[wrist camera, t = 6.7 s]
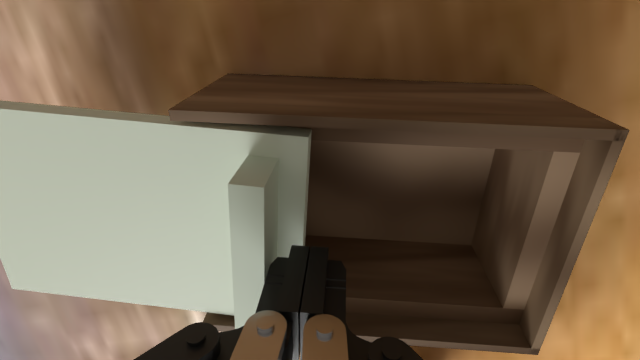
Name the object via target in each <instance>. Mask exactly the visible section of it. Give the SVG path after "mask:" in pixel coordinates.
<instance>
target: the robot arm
mask: <svg viewBox="0 0 640 360" xmlns="http://www.w3.org/2000/svg"><path fill="white" fill-rule="evenodd" d="M328 257H329V247H317V246H311V248H310V246H299V245H292V246H291V249H290V254H289V258H287V257H277V258H276V259H275V260H274V261H273V262H272V263H271V264H270V267H269V270H268V273H267V277H266V280H265V284H264V286H263V290H262V293H261V296H260V299H259V303H258V306H257V309H256V312H255V314H253V315H252V316H250V317H249V318H248V320H247V321H246V323H245V325H244V326H242V327H240V328H237V329H234V330H230V331H225V332H220V333H219V332H218V330H217V328H216V327H215V326H213V325H212V324H209V323H204V322H200V323H194V324H191V325H189V326H187V327H185V328H183V329H182V330H180V331H178V332H177V333H175V334H174V335H172V336H171V337H169V338H167V339H166V340H164V341H163V342H161V343H159V344H158V345H156V346H155V347H153V348H151V349H150V350H148V351H147V352H145V353H144V354H142V355H140V356H139V357H137V358H136V359H134V360H299V357H300V360H423V359H422V358H421V357H420V356H419V355H418V354H417V353H416V352H415V351H414V350H413V349H412V348H411V347H409V346H408V345H407V344H406V343H405V342H403V341H402V340H400V339H398V338H395V337H381V338H378V339H376V340H374V341H373V342H369V341H366V340H364V339H361V338H359V337H358V336H356V335H355V334H353V333H352V332H351V331H350V329H349V328H348V326H347V323H346V268H345V267H344V265H343V263H342V261H337V260H328Z"/></svg>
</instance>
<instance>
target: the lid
mask: <svg viewBox="0 0 640 360" xmlns="http://www.w3.org/2000/svg"><path fill="white" fill-rule="evenodd" d="M311 132H312V129H306V128H295V127H284V126H273V125H254V124H232V123H210V122H188V121H170V117H169V116H164V115H153V114H142V113H131V112H120V111H109V110H99V109H88V108H77V107H66V106H55V105H44V104H33V103H22V102H11V101H0V259H1V261H2V264H3V266H4V269H5V271H6V274H7V276H8V279H9V282H10V284H11V287H12V289H19V290H27V291H35V292H43V293H52V294H60V295H68V296H76V297H85V298H93V299H101V300H110V301H118V302H126V303H134V304H143V305H151V306H159V307H168V308H176V309H184V310H192V311H201V312H209V313H217V314H225V315H234V318H235V329H237V328H240V327H242V326H244V325H245V323H246V321H247V320H248V318H249V317H250V316H252V315H253V314H255V312H256V309H257V306H258V303H259V299H260V296H261V293H262V290H263V286H264V284H265V280H266V277H267V273H268V270H269V267H270V264H271V263H272V262H273V261H274V260H275V259H276V258H277V257H287V258H289V254H290V249H291V246H292V245H299V246H305V237H306V220H307V202H308V185H309V167H310V150H311Z"/></svg>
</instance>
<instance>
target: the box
mask: <svg viewBox="0 0 640 360" xmlns="http://www.w3.org/2000/svg"><path fill="white" fill-rule="evenodd" d="M168 111H169V117H170V121H188V122H210V123H232V124H254V125H273V126H284V127H295V128H306V129H312V132H311V150H310V167H309V185H308V202H307V220H306V237H305V246H310V248H311V246H317V247H329V257H328V260H337V261H342V263H343V265H344V267H345V268H346V323H347V326H348V328H349V329H350V331H351V332H352V333H353V334H355V335H356V336H358V337H359V338H361V339H364V340H366V341H369V342H373V341H374V340H376V339H378V338H381V337H395V338H398V339H400V340H402V341H403V342H405V343H406V344H407V345H411V346H424V347H438V348H451V349H465V350H478V351H492V352H506V353H519V354H533V355H538V353H539V351H540V348H541V346H542V343H543V341H544V338H545V336H546V334H547V331H548V329H549V326H550V324H551V321H552V319H553V316H554V314H555V311H556V309H557V307H558V304H559V302H560V299H561V297H562V294H563V292H564V289H565V287H566V284H567V282H568V280H569V277H570V275H571V272H572V270H573V267H574V265H575V262H576V260H577V257H578V255H579V253H580V250H581V248H582V245H583V243H584V240H585V238H586V235H587V233H588V230H589V228H590V226H591V223H592V221H593V218H594V216H595V213H596V211H597V208H598V206H599V203H600V201H601V199H602V196H603V194H604V191H605V189H606V186H607V184H608V181H609V179H610V177H611V174H612V172H613V169H614V167H615V164H616V162H617V159H618V157H619V154H620V152H621V150H622V147H623V145H624V142H625V140H626V137H627V135H628V132H629V130H628V129H626V128H624V127H621V126H619V125H617V124H615V123H613V122H611V121H608V120H606V119H604V118H602V117H600V116H598V115H595V114H593V113H591V112H589V111H587V110H585V109H582V108H580V107H578V106H576V105H574V104H571V103H569V102H567V101H565V100H563V99H561V98H558V97H556V96H554V95H552V94H550V93H548V92H545V91H543V90H541V89H539V88H537V87H535V86H532V85H510V84H484V83H458V82H432V81H406V80H380V79H355V78H329V77H303V76H277V75H251V74H227V75H225V76H223V77H222V78H220V79H218V80H217V81H215V82H213V83H212V84H210V85H208V86H207V87H205V88H204V89H202V90H200V91H199V92H197V93H195V94H194V95H192V96H190V97H189V98H187V99H185V100H184V101H182V102H181V103H179V104H177V105H176V106H174V107H172V108H171V109H169V110H168ZM203 322H204V323H209V324H212V325H213V326H215V327H216V328H217V330H218V331H221V332H225V331H230V330H234V329H235V318H234V315H225V314H217V313H209V312H207V314H206V316H205V318H204V321H203Z"/></svg>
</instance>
